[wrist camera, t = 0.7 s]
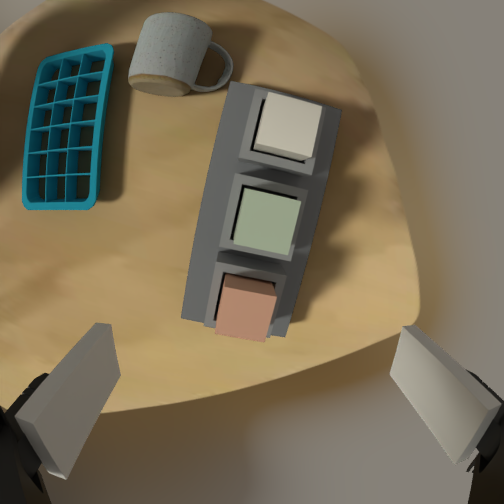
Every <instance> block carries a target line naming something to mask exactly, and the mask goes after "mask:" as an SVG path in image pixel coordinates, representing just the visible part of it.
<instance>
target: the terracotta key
mask: <svg viewBox="0 0 504 504" xmlns="http://www.w3.org/2000/svg"><path fill="white" fill-rule="evenodd" d="M276 299H277V295H276V293H275V290H274V287H273V285H272V282H271V281H267V280H262V279H257V278H252V277H247V276H242V275H237V274H232V273H227V272H226V274H225V278H224V283H223V288H222V293H221V298H220V303H219V307H218V312H217V320H216V328H215V334H220V335H225V336H230V337H236V338H242V339H248V340H254V341H260V342H265V339H266V335H267V332H268V328H269V325H270V321H271V317H272V314H273V310H274V306H275V303H276Z"/></svg>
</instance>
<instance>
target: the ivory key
mask: <svg viewBox="0 0 504 504" xmlns="http://www.w3.org/2000/svg"><path fill="white" fill-rule="evenodd" d="M321 110H322V106H319V105H316V104H312V103H309V102H305V101H302V100H298V99H295V98H291V97H287V96H283V95H279V94H275V93H271V92H268V95H267V98H266V100H265V103H264V106H263V110H262V114H261V118H260V122H259V126H258V131H257V135H256V139H255V143H254V148H253V150H255V151H260V152H264V153H268V154H272V155H276V156H280V157H284V158H288V159H292V160H296V161H302V160H305V159H308V158H311V157H312V152H313V148H314V143H315V138H316V134H317V129H318V124H319V120H320V115H321Z"/></svg>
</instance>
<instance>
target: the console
mask: <svg viewBox="0 0 504 504" xmlns="http://www.w3.org/2000/svg"><path fill="white" fill-rule="evenodd" d="M268 92H271V93H275V94H279V95H283V96H287V97H291V98H295V99H298V100H302V101H305V102H309V103H312V104H316V105H319V106H322V110H321V115H320V120H319V124H318V129H317V134H316V138H315V143H314V148H313V152H312V157H311V158H308V159H305V160H302V161H296V160H292V159H288V158H284V157H280V156H276V155H272V154H268V153H264V152H260V151H255V150H253V148H254V143H255V139H256V135H257V131H258V126H259V122H260V118H261V114H262V110H263V106H264V103H265V100H266V98H267V95H268ZM341 112H342V110H340V109H337V108H334V107H331V106H328V105H325V104H322V103H319V102H316V101H312V100H309V99H305V98H302V97H298V96H295V95H291V94H287V93H283V92H279V91H275V90H271V89H267V88H263V87H258V86H254V85H249V84H244V83H239V82H234V81H231V82H230V85H229V89H228V93H227V96H226V100H225V104H224V108H223V112H222V115H221V119H220V123H219V127H218V131H217V135H216V140H215V144H214V148H213V152H212V156H211V161H210V165H209V170H208V174H207V179H206V183H205V188H204V192H203V197H202V202H201V207H200V212H199V217H198V222H197V227H196V232H195V237H194V243H193V248H192V254H191V259H190V265H189V271H188V276H187V282H186V288H185V295H184V301H183V307H182V314H181V318H183V319H187V320H192V321H197V322H202V323H204V326H206V327H211V328H216V320H217V312H218V307H219V303H220V298H221V293H222V288H223V283H224V278H225V274H226V272H227V273H232V274H237V275H242V276H247V277H252V278H257V279H262V280H267V281H271V282H272V285H273V287H274V290H275V293H276V295H277V299H276V303H275V306H274V310H273V314H272V317H271V321H270V325H269V328H268V332H267V335H266V337H267V338H270V335H274V336H280V337H285V336H286V333H287V329H288V326H289V323H290V320H291V316H292V313H293V309H294V306H295V303H296V299H297V296H298V292H299V289H300V285H301V282H302V278H303V274H304V271H305V267H306V263H307V260H308V256H309V252H310V248H311V245H312V241H313V237H314V233H315V229H316V225H317V221H318V217H319V213H320V209H321V205H322V200H323V196H324V192H325V188H326V183H327V179H328V175H329V170H330V166H331V161H332V156H333V152H334V147H335V142H336V137H337V132H338V127H339V122H340V117H341ZM244 188H247V189H252V190H256V191H260V192H265V193H269V194H273V195H278V196H282V197H286V198H290V199H294V200H298V201H301V204H300V209H299V213H298V217H297V221H296V225H295V229H294V233H293V237H292V241H291V245H290V249H289V253H288V255H284V254H279V253H274V252H270V251H265V250H260V249H255V248H251V247H246V246H241V245H236V244H234V232H235V227H236V222H237V218H238V213H239V209H240V204H241V200H242V195H243V191H244Z"/></svg>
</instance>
